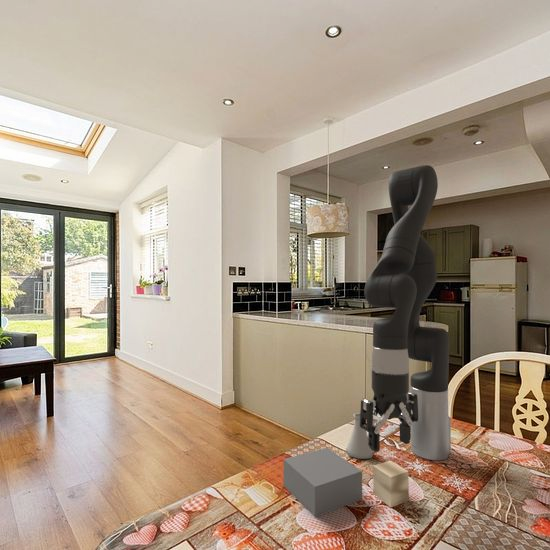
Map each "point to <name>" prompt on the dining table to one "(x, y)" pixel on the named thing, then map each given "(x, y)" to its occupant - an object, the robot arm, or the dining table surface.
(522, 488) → the dining table surface
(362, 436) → the flask
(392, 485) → the birch block
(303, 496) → the grey box
